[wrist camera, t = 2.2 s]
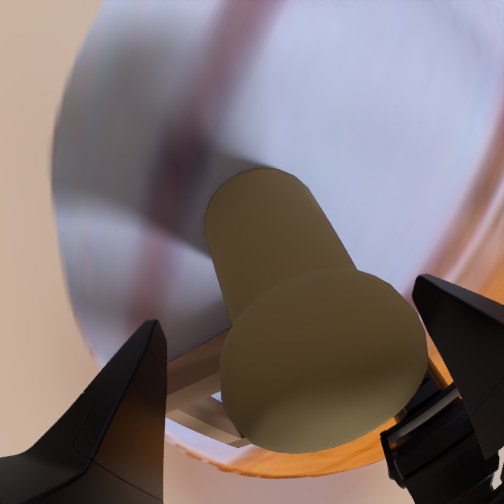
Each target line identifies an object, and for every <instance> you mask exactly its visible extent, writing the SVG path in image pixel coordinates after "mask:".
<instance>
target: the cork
mask: <svg viewBox="0 0 504 504" xmlns="http://www.w3.org/2000/svg"><path fill="white" fill-rule="evenodd" d="M205 237H206V240H207V244H208V247H209V251H210V254H211V258H212V261H213V264H214V268H215V271H216V275H217V278H218V281H219V285H220V288H221V291H222V294H223V298H224V301H225V304H226V307H227V311H228V314H229V317H230V320H231V323H232V327H231V329H230V331H229V333H228V335H227V338H226V340H225V342H224V345H223V349H222V353H221V357H220V384H221V400H222V402H223V405H224V407H225V409H226V412H227V414H228V417H229V419H230V420H231V421H232V422H233V424H234V425H235V426H236V427H237V428H238V430H239V431H240V432H241V433H242V434H243V435H244V436H245V437H246V438H247V439H248V440H249V441H250V442H251V443H252V444H254V445H257V446H259V447H262V448H264V449H267V450H271V451H275V452H279V453H290V454H299V453H310V452H317V451H321V450H326V449H330V448H334V447H337V446H340V445H343V444H345V443H348V442H351V441H353V440H356V439H358V438H360V437H362V436H364V435H366V434H368V433H370V432H371V431H373V430H375V429H376V428H378V427H380V426H381V425H383V424H384V423H386V422H387V421H388V420H390V419H391V418H392V417H394V416H395V415H396V414H397V413H398V412H399V411H400V410H401V409H403V408H404V407H405V406H406V404H407V403H408V402H409V401H410V399H411V398H412V397H413V396H414V394H415V393H416V391H417V390H418V388H419V386H420V384H421V383H422V380H423V378H424V375H425V373H426V370H427V341H426V334H425V330H424V328H423V325H422V323H421V321H420V318H419V316H418V313H417V312H416V311H415V310H414V309H413V308H412V307H411V305H410V304H409V303H408V302H407V301H406V300H405V299H404V298H403V297H402V296H401V295H400V294H399V293H398V292H397V291H396V290H395V289H394V288H393V286H392V285H391V284H389V283H387V282H385V281H383V280H382V279H380V278H378V277H376V276H374V275H371V274H368V273H365V272H362V271H359V270H357V268H356V267H355V265H354V263H353V261H352V259H351V258H350V256H349V254H348V252H347V251H346V249H345V247H344V245H343V244H342V242H341V240H340V239H339V237H338V235H337V233H336V232H335V230H334V228H333V227H332V225H331V223H330V222H329V220H328V219H327V217H326V215H325V214H324V212H323V210H322V209H321V207H320V206H319V204H318V203H317V201H316V199H315V198H314V196H313V195H312V193H311V192H310V190H309V188H308V187H307V186H306V185H305V184H303V183H302V182H301V181H300V180H299V179H298V178H296V177H295V176H294V175H291V174H289V173H286V172H284V171H281V170H279V169H267V168H257V169H253V170H249V171H246V172H242V173H239V174H237V175H236V176H234V177H233V178H231V179H230V180H228V181H227V182H225V183H224V184H222V186H221V187H220V188H219V189H218V191H217V192H216V193H215V195H214V196H213V197H212V198H211V200H210V203H209V206H208V209H207V212H206V214H205Z"/></svg>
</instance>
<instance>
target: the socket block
mask: <svg viewBox="0 0 504 504" xmlns="http://www.w3.org/2000/svg"><path fill="white" fill-rule="evenodd" d="M230 329H231V328H229V329H227V330H226V331H224V332H222V333H221V334H219V335H217V336H215V337H214V338H212V339H210V340H209V341H207V342H205V343H203V344H202V345H200V346H198V347H196V348H194V349H193V350H191V351H189V352H187V353H185V354H184V355H182V356H180V357H178V358H176V359H175V360H173V361H171V362H169V363H167V383H168V386H167V401H166V415H165V417H166V418H168V419H170V420H172V421H175V422H177V423H179V424H181V425H183V426H185V427H187V428H189V429H192V430H194V431H196V432H198V433H201V434H203V435H205V436H208V437H210V438H213V439H215V440H218V441H220V442H223V443H225V444H228V445H231V446H233V447H236V448H240V447H243V446H246V445H249V444H252V443H251V442H250V441H249V440H248V439H247V438H246V437H245V436H244V435H243V434H242V433H241V432H240V431H239V430H238V428H237V427H236V426H235V425H234V424H233V422H232V421H231V420H230V419H229V417H228V414H227V412H226V409H225V407H224V405H223V403H221V402H219V401H218V400H216V399H214V398H212V397H211V396H210V395H213V394H215V393H217V392H219V391H221V384H220V357H221V353H222V349H223V345H224V342H225V340H226V338H227V335H228V333H229V331H230Z"/></svg>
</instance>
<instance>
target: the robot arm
mask: <svg viewBox="0 0 504 504" xmlns="http://www.w3.org/2000/svg"><path fill="white" fill-rule="evenodd" d="M412 299H413V302H414V304H415V306H416V308H417V310H418V312H419V314H420V316H421V318H422V321H423V323H424V325H425V327H426V329H427V331H428V333H429V335H430V337H431V339H432V340H433V342H434V344H435V346H436V348H437V350H438V351H439V353H440V355H441V357H442V359H443V361H444V363H445V365H446V367H447V369H448V371H449V373H450V375H451V377H452V379H453V381H454V382H453V383H451V384H450V385H448V384H447V382H446V381H445V379H444V378H443V376H442V375H441V373H440V372H439V370H438V369H437V367H436V366H435V365H434V363H433V362H432V360H431V359H430V357H429V356H428V352H427V370H426V373H425V375H424V378H423V380H422V383H421V384H420V386H419V388H418V390H417V391H416V393H415V394H414V396H413V397H412V398H411V399H410V401H409V402H408V403H407V404H406V406H405V407H404V408H403V409H401V410H400V411H399V412H398V413H397V414H396V415H395V416H394V419H395V421H396V423H397V424H396V425H394V426H393V427H391V428H389V429H388V430H385V431H383V432H381V433H380V436H381V438H380V440H381V444H382V447H383V451H384V454H385V458H386V461H387V466H388V475H389V478H390V479H392V480H395V481H396V482H397V484H398V485H399V486H400V487H401V488H403V489H405V488H407V489H408V491H409V493H410V494H411V496H412V498H413V500H414V502H415V504H504V464H503V468H502V473H501V477H500V479H501V481H502V484H501V485H499V486H498V487H497V488H496V489H495V490H494V489H493V486H492V482H493V478H494V473H495V472H496V471H497V470H498V467H499V455H498V450H500V449H501V448H502V447H503V446H504V305H503V304H502V305H501V304H500V303H498V302H496V301H493V300H491V299H489V298H486V297H484V296H482V295H479V294H477V293H475V292H472V291H470V290H467V289H465V288H462V287H460V286H457V285H455V284H452V283H450V282H448V281H445V280H442V279H440V278H437V277H435V276H432V275H430V274H421V275H418V276H417V278H416V280H415V284H414V288H413V291H412ZM167 386H168V383H167V343H166V338H165V335H164V332H163V330H162V327H161V325H160V322H159V321H158V320H157V319H152V320H146V321H144V322H143V323H142V324H141V326H140V327H139V328H138V329H137V330H136V331H135V332H134V333H133V335H132V336H131V337H130V338H129V339H128V340H127V341H126V342H125V344H124V345H123V346H122V347H121V348H120V349H119V350H118V352H117V353H116V354H115V355H114V356H113V357H112V358H111V360H110V361H109V362H108V363H107V364H106V365H105V367H104V368H103V369H102V370H101V371H100V372H99V374H98V375H97V376H96V377H95V378H94V379H93V381H92V382H91V383H90V384H89V385H88V387H87V388H86V389H85V390H84V393H82V394H81V395H80V396H79V397H78V398H77V400H76V401H75V402H74V403H73V404H72V405H71V407H70V408H69V409H68V410H67V411H66V412H65V413H64V414H63V416H61V417H60V419H59V420H58V421H57V422H56V423H55V424H54V425H53V426H52V427H51V428H50V429H49V430H48V431H47V432H46V433H45V434H44V435H43V436H42V437H41V438H40V439H39V440H38V441H37V442H36V443H35V444H34V445H33V446H32V447H31V448H29V449H28V450H26V451H25V452H23V453H20V454H17V455H13V456H7V457H1V458H0V504H163V459H164V433H165V415H166V401H167ZM460 396H461V398H462V399H460Z"/></svg>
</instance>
